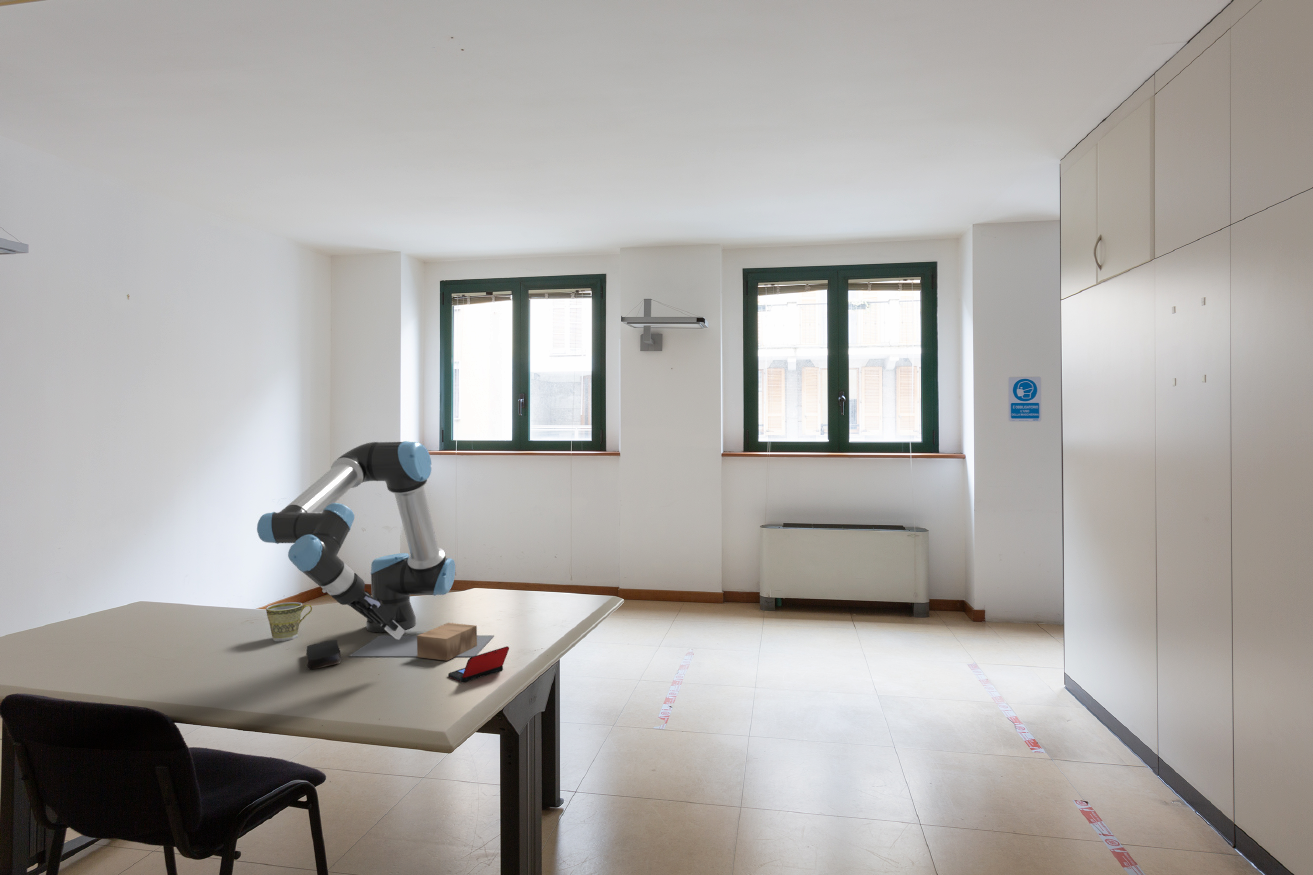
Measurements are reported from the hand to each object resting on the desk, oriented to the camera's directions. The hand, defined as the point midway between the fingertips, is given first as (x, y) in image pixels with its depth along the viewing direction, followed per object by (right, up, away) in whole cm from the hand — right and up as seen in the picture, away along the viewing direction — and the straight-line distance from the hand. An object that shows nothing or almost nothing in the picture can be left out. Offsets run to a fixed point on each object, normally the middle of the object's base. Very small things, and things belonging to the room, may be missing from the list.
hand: (400, 634), depth 191 cm
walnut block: (+5, -6, +9) cm, 12 cm away
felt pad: (-1, -9, +22) cm, 24 cm away
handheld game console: (+22, -10, -3) cm, 24 cm away
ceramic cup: (-46, -10, +33) cm, 58 cm away
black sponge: (-25, -11, +11) cm, 29 cm away
